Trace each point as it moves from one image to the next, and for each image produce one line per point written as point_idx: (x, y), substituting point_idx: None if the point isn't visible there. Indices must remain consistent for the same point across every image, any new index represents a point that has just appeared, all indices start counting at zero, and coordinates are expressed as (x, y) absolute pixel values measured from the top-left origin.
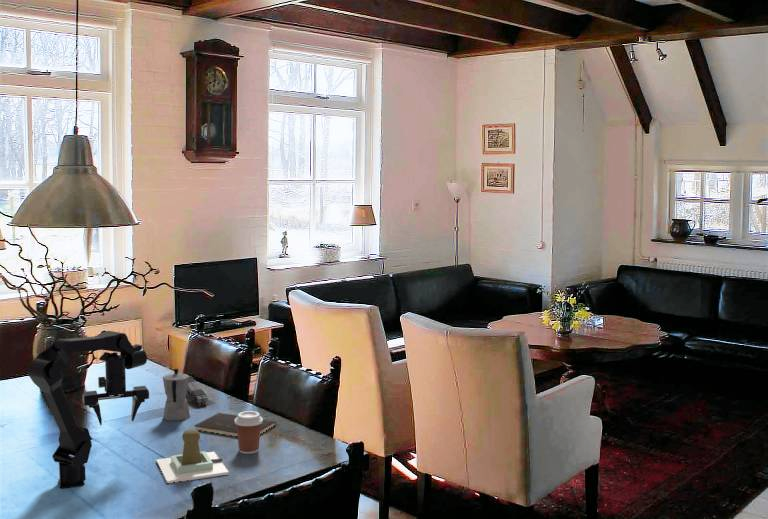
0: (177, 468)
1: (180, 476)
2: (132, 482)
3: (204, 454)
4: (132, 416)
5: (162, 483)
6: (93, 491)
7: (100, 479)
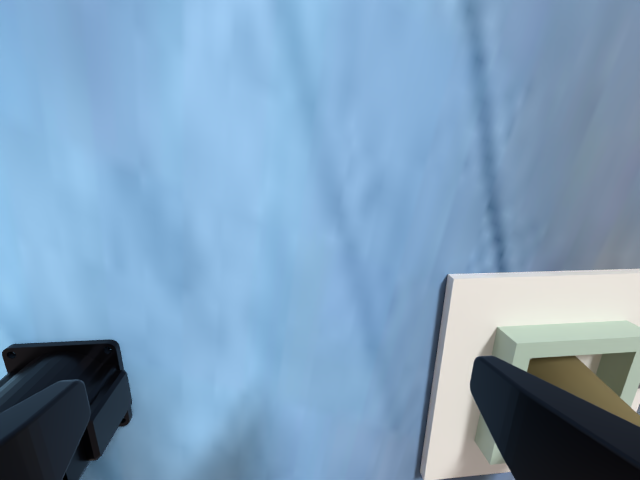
0: (487, 454)
1: (475, 458)
2: (315, 434)
3: (635, 369)
4: (515, 476)
5: (406, 465)
6: (171, 470)
7: (199, 379)
